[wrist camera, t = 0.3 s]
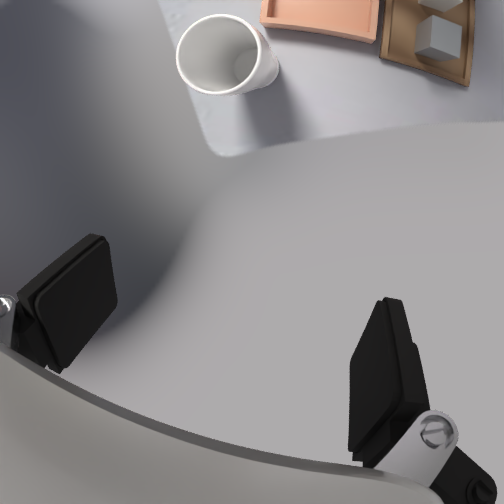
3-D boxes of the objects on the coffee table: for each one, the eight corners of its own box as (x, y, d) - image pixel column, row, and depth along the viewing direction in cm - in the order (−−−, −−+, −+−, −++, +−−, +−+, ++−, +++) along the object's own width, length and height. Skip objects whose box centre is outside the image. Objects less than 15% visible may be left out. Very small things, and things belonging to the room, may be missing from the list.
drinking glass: (298, 65, 31) (282, 46, 18) (260, 105, 34) (221, 114, 21) (254, 31, 30) (211, -3, 17) (218, 71, 33) (158, 64, 20)
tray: (386, -41, 21) (388, -44, 20) (470, -10, 19) (474, -12, 18) (379, 57, 28) (380, 56, 27) (464, 86, 27) (468, 86, 26)
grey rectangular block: (416, 25, 24) (432, 14, 19) (442, 34, 24) (462, 26, 19) (413, 52, 26) (430, 46, 21) (439, 61, 26) (459, 58, 21)
